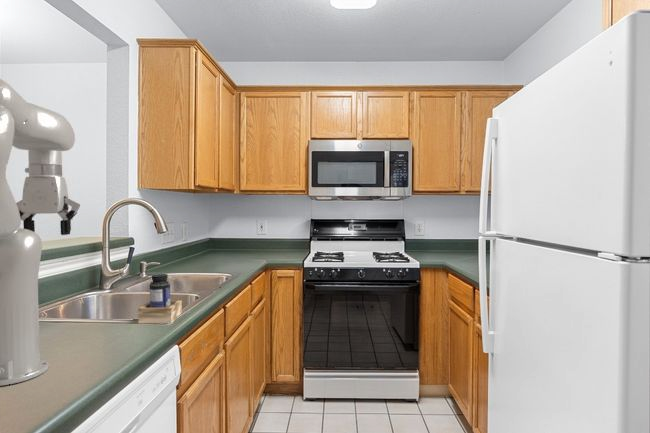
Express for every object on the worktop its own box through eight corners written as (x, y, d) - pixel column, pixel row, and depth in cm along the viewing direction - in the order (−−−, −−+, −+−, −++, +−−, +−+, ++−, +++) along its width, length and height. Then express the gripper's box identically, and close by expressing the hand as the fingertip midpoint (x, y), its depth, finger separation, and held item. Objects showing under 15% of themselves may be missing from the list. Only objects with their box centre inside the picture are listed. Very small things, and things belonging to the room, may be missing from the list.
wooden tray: (171, 322, 126) (171, 308, 126) (138, 323, 126) (138, 308, 126) (181, 314, 136) (181, 300, 136) (151, 314, 136) (151, 300, 136)
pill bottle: (164, 305, 135) (163, 272, 135) (174, 308, 131) (173, 274, 131) (146, 309, 130) (145, 275, 130) (156, 312, 126) (155, 277, 126)
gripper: (3, 171, 108) (5, 236, 108) (69, 171, 108) (71, 235, 109) (23, 173, 115) (25, 233, 116) (85, 173, 116) (87, 233, 116)
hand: (47, 234), depth 112 cm, fingers open, 9 cm apart
